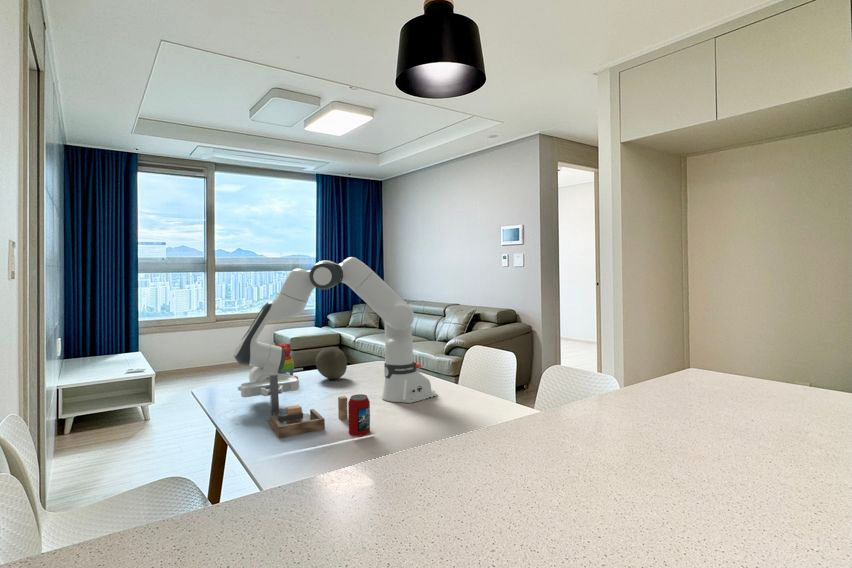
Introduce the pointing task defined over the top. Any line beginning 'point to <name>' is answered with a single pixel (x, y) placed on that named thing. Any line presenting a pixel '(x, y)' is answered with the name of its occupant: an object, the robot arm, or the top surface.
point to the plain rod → (342, 408)
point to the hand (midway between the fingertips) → (274, 392)
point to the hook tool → (275, 402)
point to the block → (293, 410)
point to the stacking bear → (287, 359)
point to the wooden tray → (298, 425)
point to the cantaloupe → (331, 363)
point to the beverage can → (359, 415)
